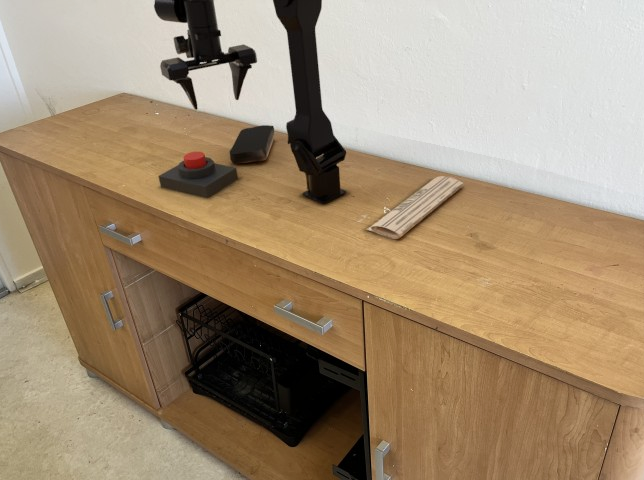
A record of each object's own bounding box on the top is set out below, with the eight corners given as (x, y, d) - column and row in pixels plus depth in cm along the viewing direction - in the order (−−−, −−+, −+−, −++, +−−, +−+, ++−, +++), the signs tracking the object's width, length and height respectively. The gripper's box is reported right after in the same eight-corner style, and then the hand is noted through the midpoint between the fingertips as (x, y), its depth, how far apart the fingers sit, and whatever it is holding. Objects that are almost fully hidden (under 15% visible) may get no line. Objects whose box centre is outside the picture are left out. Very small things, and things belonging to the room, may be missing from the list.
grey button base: (238, 179, 132) (235, 159, 129) (208, 198, 125) (203, 178, 122) (192, 169, 138) (188, 150, 135) (161, 187, 131) (156, 167, 128)
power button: (210, 162, 129) (209, 153, 128) (197, 171, 126) (195, 161, 125) (195, 159, 131) (193, 150, 130) (181, 167, 128) (178, 157, 127)
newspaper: (399, 240, 107) (399, 231, 106) (366, 230, 111) (365, 221, 110) (462, 188, 122) (463, 180, 121) (431, 181, 125) (431, 172, 124)
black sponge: (266, 165, 137) (264, 150, 134) (229, 167, 137) (226, 151, 135) (276, 138, 150) (275, 123, 148) (242, 139, 150) (240, 125, 148)
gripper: (231, 11, 130) (242, 86, 139) (144, 26, 122) (162, 104, 132) (252, 19, 122) (263, 98, 131) (161, 35, 114) (178, 118, 124)
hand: (216, 104), depth 129 cm, fingers open, 9 cm apart
